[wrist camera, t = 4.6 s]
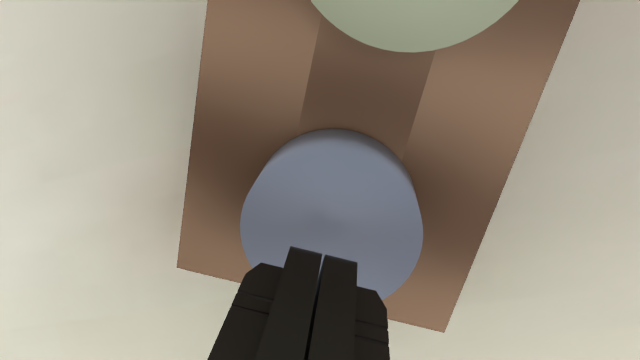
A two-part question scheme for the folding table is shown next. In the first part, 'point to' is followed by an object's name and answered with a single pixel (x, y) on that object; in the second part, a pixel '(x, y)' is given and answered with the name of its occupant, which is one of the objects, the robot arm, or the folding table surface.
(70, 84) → the folding table surface
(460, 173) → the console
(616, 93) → the folding table surface
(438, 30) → the sage button
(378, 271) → the blue button
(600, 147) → the folding table surface
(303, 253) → the robot arm
